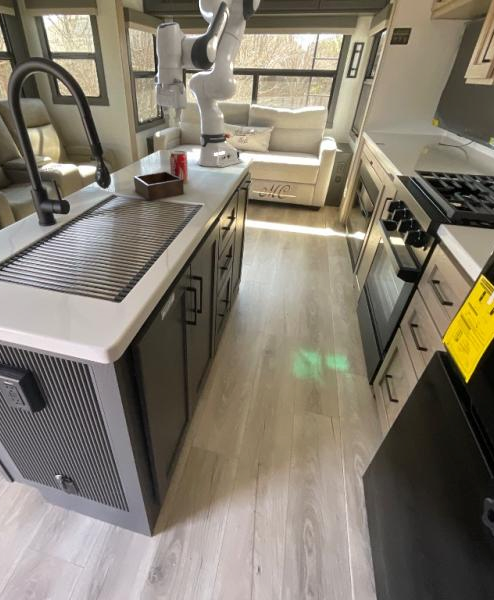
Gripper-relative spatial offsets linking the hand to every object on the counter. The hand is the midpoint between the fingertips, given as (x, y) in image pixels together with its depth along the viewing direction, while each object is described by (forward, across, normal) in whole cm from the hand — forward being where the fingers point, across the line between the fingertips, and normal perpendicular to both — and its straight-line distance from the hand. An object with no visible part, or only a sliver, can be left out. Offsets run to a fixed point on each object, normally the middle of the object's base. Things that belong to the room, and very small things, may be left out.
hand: (171, 120), depth 130 cm
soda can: (+24, -2, -2) cm, 24 cm away
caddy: (+24, -10, +12) cm, 28 cm away
